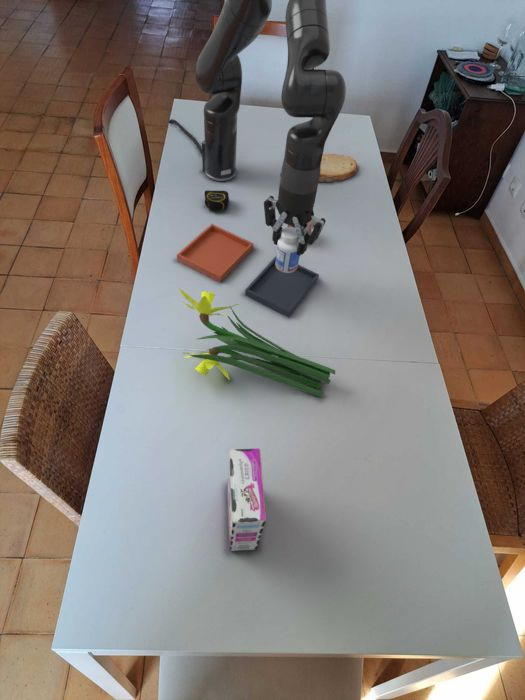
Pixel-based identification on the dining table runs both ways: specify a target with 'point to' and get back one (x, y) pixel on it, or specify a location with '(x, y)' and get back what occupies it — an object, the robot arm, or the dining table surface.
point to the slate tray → (281, 288)
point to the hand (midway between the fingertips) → (288, 247)
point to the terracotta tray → (215, 252)
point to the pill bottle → (287, 250)
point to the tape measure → (216, 200)
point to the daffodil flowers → (255, 353)
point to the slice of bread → (336, 167)
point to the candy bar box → (245, 499)
